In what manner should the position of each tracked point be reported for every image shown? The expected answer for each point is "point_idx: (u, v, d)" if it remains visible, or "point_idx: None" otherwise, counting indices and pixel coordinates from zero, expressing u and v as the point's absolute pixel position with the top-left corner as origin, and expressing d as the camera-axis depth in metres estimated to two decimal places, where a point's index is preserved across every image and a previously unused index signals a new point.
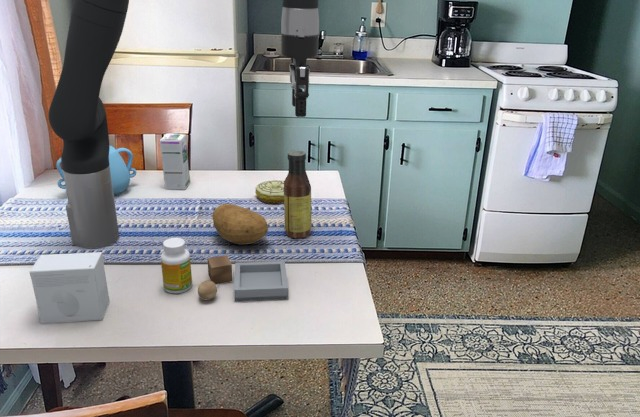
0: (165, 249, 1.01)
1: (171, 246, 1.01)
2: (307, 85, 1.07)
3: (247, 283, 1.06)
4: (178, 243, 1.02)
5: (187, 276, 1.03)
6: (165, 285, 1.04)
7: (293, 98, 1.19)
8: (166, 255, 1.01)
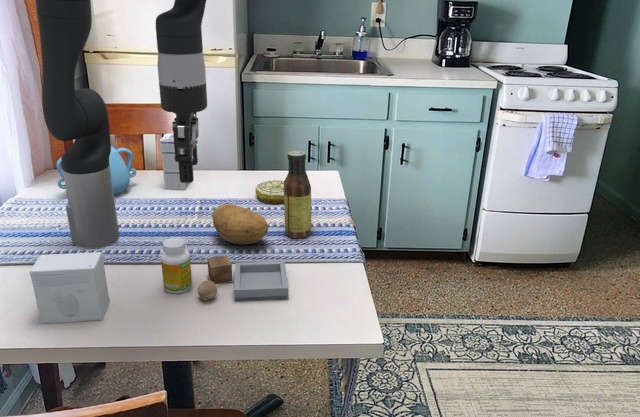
0: (165, 249, 1.01)
1: (171, 246, 1.01)
2: (188, 147, 0.87)
3: (247, 283, 1.06)
4: (178, 243, 1.02)
5: (187, 276, 1.03)
6: (165, 285, 1.04)
7: None
8: (166, 255, 1.01)
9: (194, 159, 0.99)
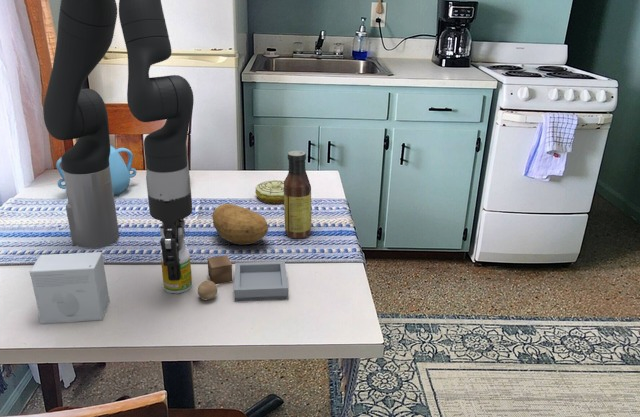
0: None
1: None
2: (175, 256, 0.96)
3: (247, 283, 1.06)
4: None
5: (187, 276, 1.03)
6: (165, 285, 1.04)
7: None
8: None
9: None
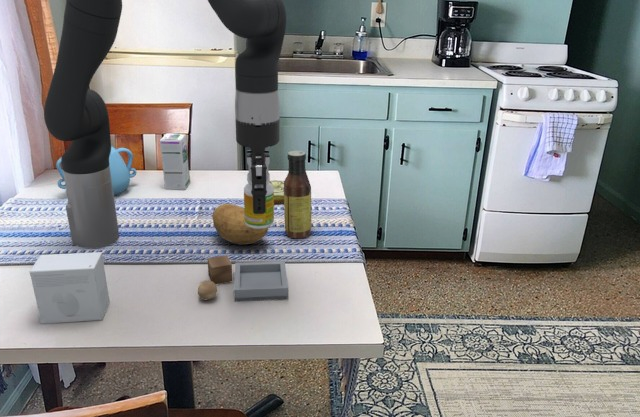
0: None
1: None
2: (265, 184, 0.92)
3: (247, 283, 1.06)
4: None
5: (270, 210, 0.99)
6: (248, 220, 0.99)
7: None
8: (250, 187, 0.97)
9: None
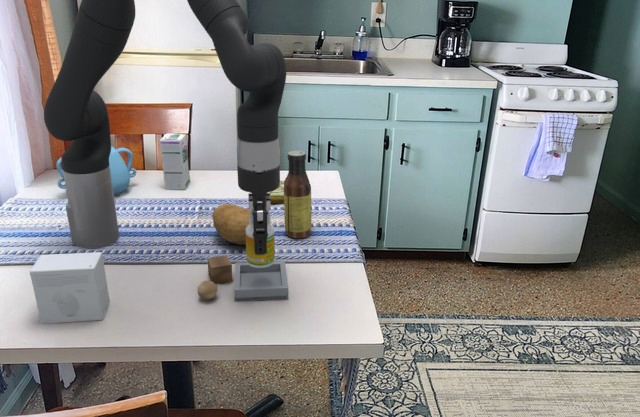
0: None
1: None
2: (266, 228, 0.95)
3: (247, 283, 1.06)
4: None
5: (271, 250, 1.02)
6: (249, 260, 1.02)
7: None
8: (252, 229, 1.00)
9: None
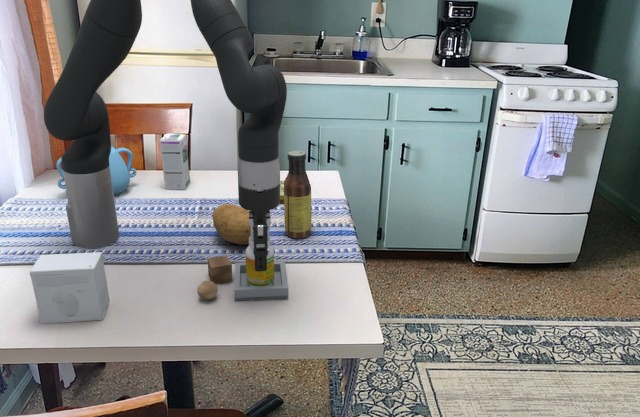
0: (251, 245, 1.02)
1: None
2: (266, 244, 0.95)
3: None
4: None
5: (271, 271, 1.04)
6: (249, 280, 1.04)
7: None
8: (252, 251, 1.02)
9: None
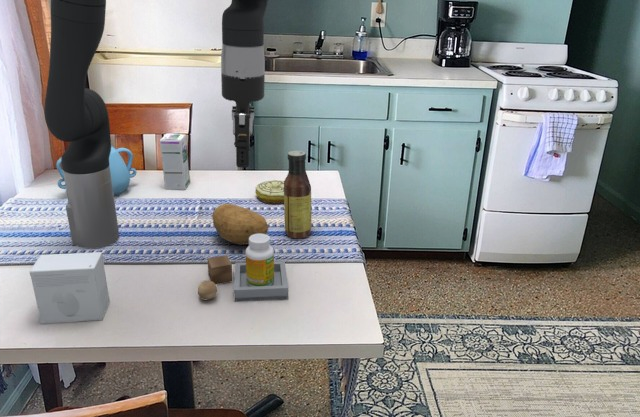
0: (251, 245, 1.02)
1: (258, 242, 1.01)
2: (247, 134, 0.93)
3: None
4: (263, 239, 1.02)
5: (271, 271, 1.04)
6: (249, 280, 1.04)
7: None
8: (252, 251, 1.02)
9: None
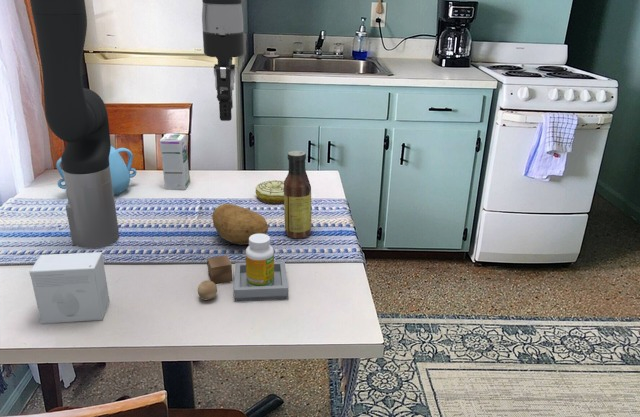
0: (251, 244, 1.02)
1: (258, 242, 1.01)
2: (229, 87, 0.99)
3: None
4: (263, 239, 1.02)
5: (271, 271, 1.04)
6: (249, 280, 1.04)
7: None
8: (252, 250, 1.02)
9: None
